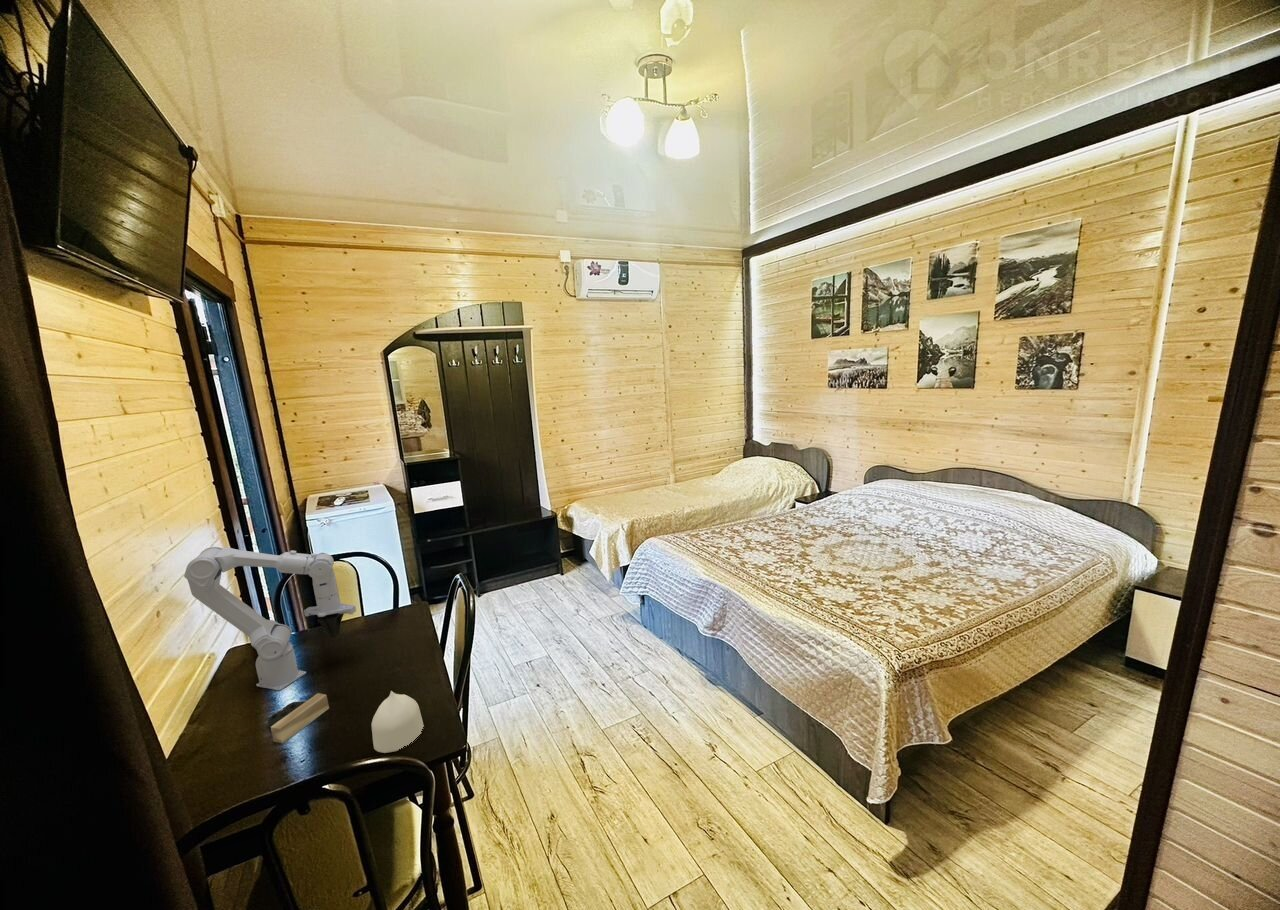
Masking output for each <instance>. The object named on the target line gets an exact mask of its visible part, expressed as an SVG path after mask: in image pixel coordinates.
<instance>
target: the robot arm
mask: <svg viewBox="0 0 1280 910" xmlns="http://www.w3.org/2000/svg"><path fill="white" fill-rule="evenodd" d="M334 564H335V561H334V558H333V556H332V555H331V554H329V553H325V552H319V553H317V554H316V553H314V552H313V553H311V554H309V553H300V552H299V553H298V552H297V550H290V551H285V552H283V553H281V554H280V555H278V554H270V553H263V552H258V551H257V552H256V551H248V550H242V549H235V548H232V547H219V546H212V547H208V548H205V549H204V550H203V551H201V552H200V553H199V555H198V556H196V557H195V558H194V559H191V561H189V563H188V564H187V566H186V569H185V571H184V575H183V577H184V578H185V579H186V580H187V583H188V585H189V590H190V593H191V595H192V596H193V598H195V599H196V600H198V601H199V602H201V603H202V604H203V605H205V607H207V608H208V609H210V610H211V611H213V612H214V613H216V614H217V615H218V616H220V618H222V619H224V620H225V621H227V622H228V623H229V624H230V625H232V626H234V627H235V628H237V629H238V630H239V631H240V632H241V633H243V634H244V635H246V637H248V639H249V642H250V645H251V647H253V648H254V649H255V651H256V652H257V655H258V656H257V658H256V659H255V660H256V661H255V668H256V670H255V671H256V675H257V677H258V683H256V687H259V688H264V689H270V690H275V691H281V690H282V689H284V688H286V687H288V686H289V685H290V684H292V683H294V682H295V681H297V680H298V679H300V678H302V677H303V676H304V675H306V674H307V671H306V670H305V671H304V670H299V669H298V664H297V659H296V655H295V650H294V645H293V644H292V643H291V641H290V639H291V637H292V635H293V633H292V629H291V627H290V626H288V625H286V624H284V623H283V624H282V623H279V622H277V621H276V620H274V619H266V618H265V617H264V616H262V615H261V614H260V613H258V612H257V611H256V610H254V609H253V608H252V607H251V606H249V605H248V604H246V603H245V602H244V601H242V600H241V599H240V598H238V597H237V596H236V595H235V594H233V593H232V592H230V591H229V590H228V589H227V588H225V587H224V586H223V585H222V584H221V577H222V573H225V572H227V571H230V570H233V569H234V568H237V567H255V568H256V567H257V568H258V567H261V568H275V569H276V570H277V572H278V573H283V574H294V575H295V574H296V575H305V576H306V575H308V576H309V577H311V578H312V586H313V587H312V588H313V592H314V596H315V597H314V598H315V601H316V602H315V603H316V606H309V607H307V608H306V609H304V610H303V612H304V616H305V617H309V616H315V615H316V616H317V617H318V618H317V622H318V623H319V624H320V625H322V627H323V628H324V629H325V631H326V632H327V634H328V636H329V637H330V638H331V639H332V638H334V639H335V638H336V637H338V636H339V635H340V633H341V631H340V629H341V623H342V620H343V616H345V615H346V614H348V615H353V614H354V613H355V612H357V609H356V605H355V604H354V605H353V604H352V605H351V604H347V603H341V598H340V593H339V589H338V583H337V578H336V575H335V573H336V572H335V571H334V568H333V567H334ZM344 614H345V615H344Z"/></svg>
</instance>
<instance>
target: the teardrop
mask: <svg viewBox="0 0 1280 910" xmlns="http://www.w3.org/2000/svg"><path fill="white" fill-rule="evenodd" d="M423 721H424V720H423V718H422V714H421V710H420V707H419V704H418V703H417V701H416V700H415V699H414V698H412V697H410V696H409V695H406V694H399V693H396V692H393V691H392V690H390V693H389V696H388V697H387V698H384V700H383V701H382V702H381V704H380V705H379V706H378V708H377V710H376V711H375V714H374V715H373V717H372V721H371V732H372V735H371V736H372V744H373V750H375V751H376V752H378V753H384V754H386V753H392V752H397V751H399V749H400V750H401V748H402V749H404V748H405V747H404V746H406V747H407V745H408V746H409V744H410V743H411V742H412V743H414V742H415V741H416V740H417V739H418V738H419V737H420V736H421V735H420V734H422V732H421V731H423V730H424V728H425V725H424V722H423ZM423 727H424V728H423ZM422 729H423V730H422ZM419 735H420V736H419ZM418 736H419V737H418ZM417 737H418V738H417ZM416 738H417V739H416ZM415 739H416V740H415ZM414 740H415V741H414ZM413 741H414V742H413ZM412 743H411V744H412ZM411 744H410V745H411ZM403 747H404V748H403Z"/></svg>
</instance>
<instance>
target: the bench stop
mask: <svg viewBox="0 0 1280 910" xmlns="http://www.w3.org/2000/svg"><path fill="white" fill-rule="evenodd" d="M329 709H330V706H329V699H328V697H327V694H324V693H318V692H317V693H316V694H315V695H313V696H312V697H311V698H309V699H308V700H306V702H305V703H303V704H302V705H301V706H299V707H298V708H296V709H295V710H294V711H292V712H291V713H290V714H288V715H287V716H285V717H284V718H283V719H281V720H280V721H278V722H277V723H276V724H274V725H273V726H271V728H270V732H271V734H272V740H273V742H275V743H279V744H282V745H283V744H285V743H286V742H287V741H289V740H290V739H291V738H292V737H294V736H295V735H296V734H297V733H299V732H300V731H302V730H303V729H304V728H306V727H308V726H309V725H310V724H311V723H312V722H314V720H316V719H317V718H319V717H320V716H321V715H323V714H324V713H325V712H326V711H328V710H329Z"/></svg>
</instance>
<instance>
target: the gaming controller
mask: <svg viewBox="0 0 1280 910" xmlns="http://www.w3.org/2000/svg"><path fill="white" fill-rule="evenodd" d="M306 701H307V700H306ZM306 701H293V702H291V703H288V704H287V705H285V706H284V707H282V708H281V709H280V710H278V711H277V712H276V713H274V714H271V716H270V717H269V718H268V720H267V724H268V726H269V728H270V729H271V726H273V725H274V724H276V723H277V722H278V721H280V720H281V719H283V718H284V717H285V716H287V715H288V714H290V713H291V712H292V711H294V710H295V709H296V708H298V707H299V706H301V705H302V704H303V703H305V702H306Z"/></svg>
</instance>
